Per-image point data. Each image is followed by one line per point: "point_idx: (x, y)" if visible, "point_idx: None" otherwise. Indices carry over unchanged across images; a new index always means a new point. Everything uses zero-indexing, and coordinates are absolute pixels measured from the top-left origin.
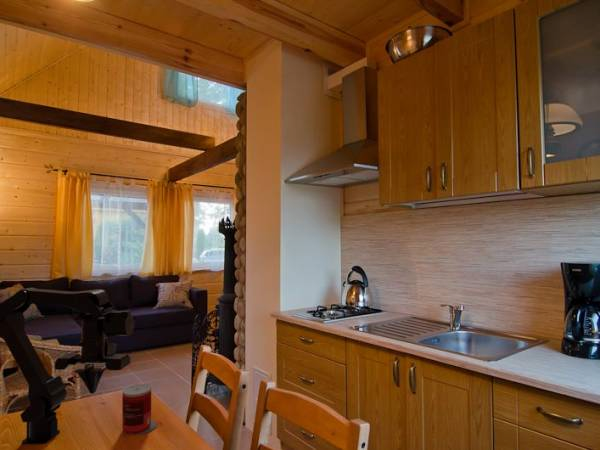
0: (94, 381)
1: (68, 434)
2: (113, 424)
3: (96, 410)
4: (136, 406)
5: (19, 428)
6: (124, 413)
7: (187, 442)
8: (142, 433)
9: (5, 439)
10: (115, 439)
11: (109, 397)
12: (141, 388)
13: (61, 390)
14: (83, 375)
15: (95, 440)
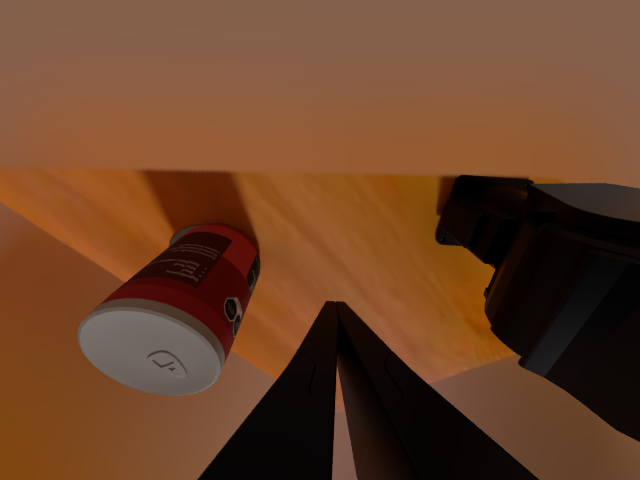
0: (289, 363)
1: (406, 229)
2: (304, 276)
3: (386, 336)
4: (144, 271)
5: None
6: (216, 259)
7: (10, 178)
8: (186, 227)
9: None
10: (249, 200)
11: None
12: (151, 366)
13: (540, 328)
14: (428, 442)
15: (307, 195)
